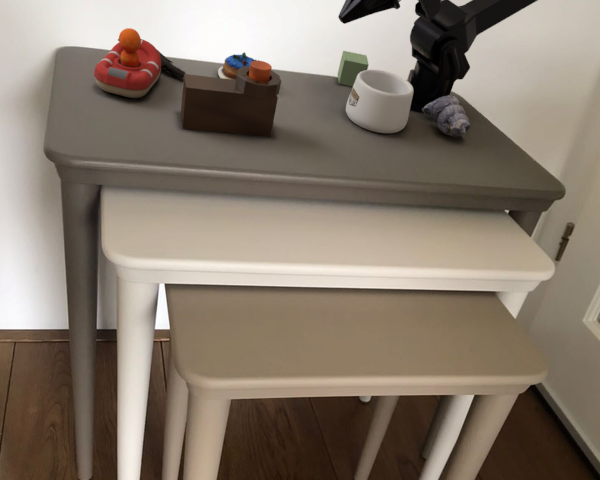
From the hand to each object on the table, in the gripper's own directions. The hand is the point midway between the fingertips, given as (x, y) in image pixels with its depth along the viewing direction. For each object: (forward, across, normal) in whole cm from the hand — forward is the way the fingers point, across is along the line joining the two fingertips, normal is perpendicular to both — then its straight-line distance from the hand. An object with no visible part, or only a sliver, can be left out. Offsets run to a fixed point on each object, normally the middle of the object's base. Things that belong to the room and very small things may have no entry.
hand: (341, 20), depth 91 cm
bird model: (+23, -18, -6) cm, 29 cm away
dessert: (+14, -12, +6) cm, 19 cm away
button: (+14, +1, -5) cm, 15 cm away
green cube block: (0, -9, +19) cm, 21 cm away
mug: (+4, +3, +16) cm, 16 cm away
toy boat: (+27, -14, -7) cm, 31 cm away
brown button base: (+21, 0, -2) cm, 21 cm away
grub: (-3, +9, +23) cm, 25 cm away
